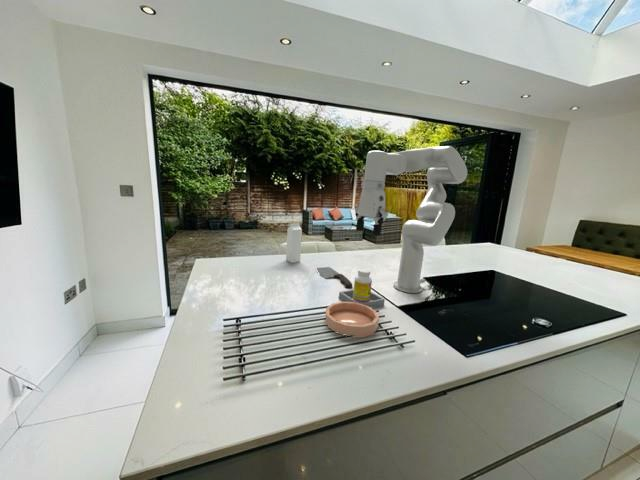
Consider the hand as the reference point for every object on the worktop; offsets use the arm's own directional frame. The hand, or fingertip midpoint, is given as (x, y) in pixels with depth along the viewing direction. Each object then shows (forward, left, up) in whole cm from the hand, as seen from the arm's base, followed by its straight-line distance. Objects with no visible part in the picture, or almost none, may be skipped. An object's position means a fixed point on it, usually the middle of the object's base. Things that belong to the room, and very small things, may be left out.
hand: (367, 232), depth 101 cm
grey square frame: (0, 0, -28) cm, 28 cm away
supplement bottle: (0, 0, -28) cm, 28 cm away
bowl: (+14, +12, -28) cm, 33 cm away
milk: (+2, -59, -28) cm, 65 cm away
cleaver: (-5, -28, -28) cm, 40 cm away
